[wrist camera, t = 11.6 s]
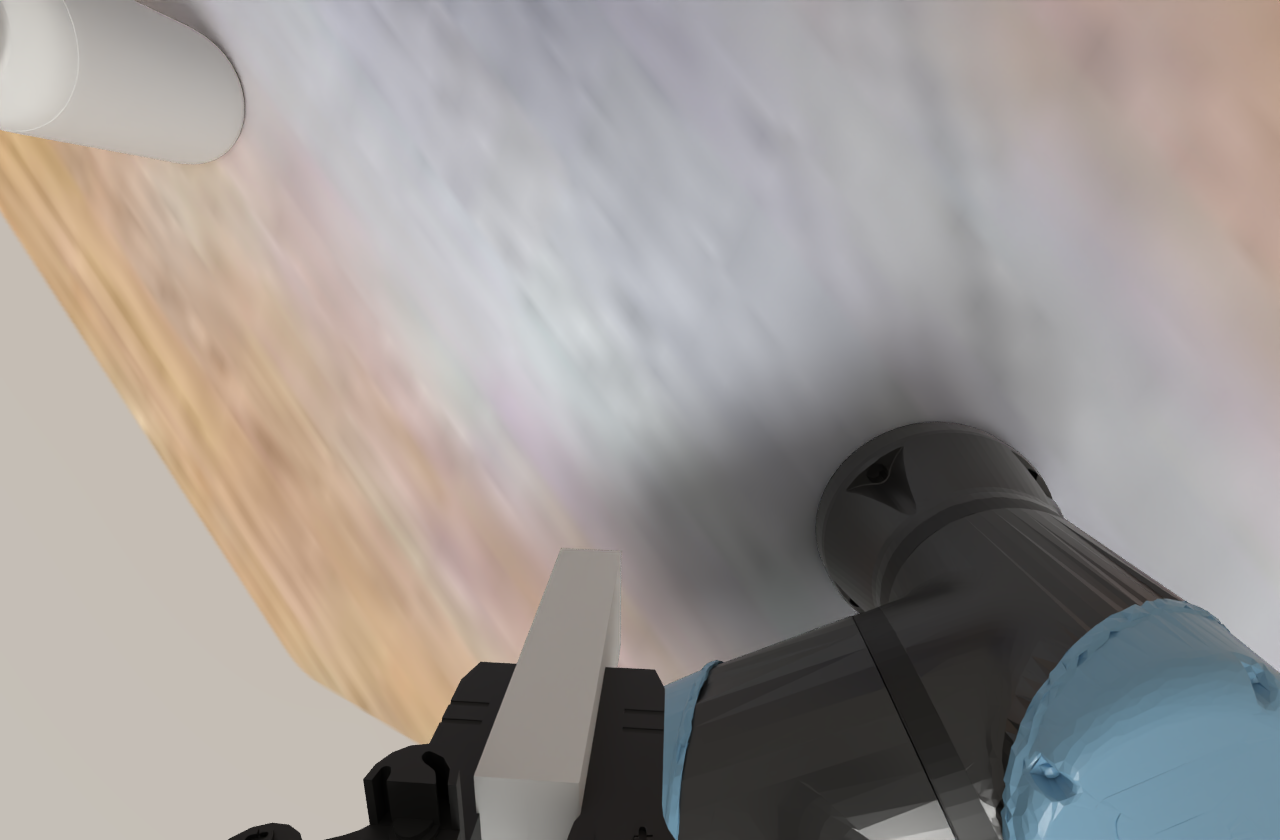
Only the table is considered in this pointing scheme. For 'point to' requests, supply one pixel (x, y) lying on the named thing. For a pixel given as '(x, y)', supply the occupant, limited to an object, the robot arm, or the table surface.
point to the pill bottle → (116, 80)
